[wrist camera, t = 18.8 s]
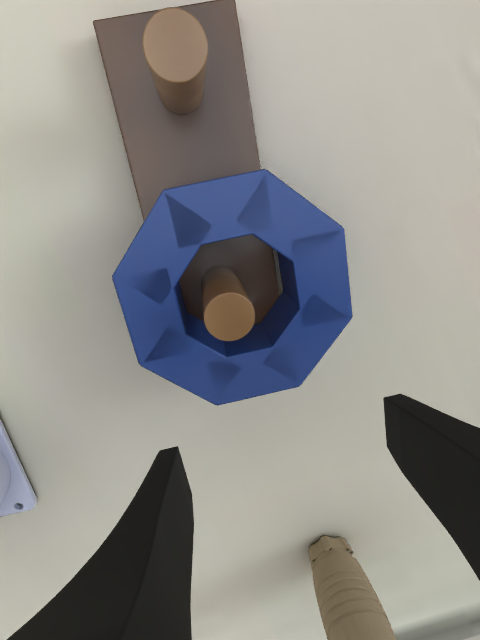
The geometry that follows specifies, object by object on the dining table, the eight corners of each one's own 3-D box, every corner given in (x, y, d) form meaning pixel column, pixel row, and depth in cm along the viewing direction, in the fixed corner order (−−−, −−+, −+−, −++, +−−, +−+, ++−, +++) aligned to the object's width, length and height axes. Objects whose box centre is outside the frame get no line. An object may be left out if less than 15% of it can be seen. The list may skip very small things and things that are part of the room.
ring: (161, 386, 21) (155, 420, 18) (106, 201, 18) (88, 204, 15) (334, 346, 22) (358, 373, 19) (312, 160, 19) (337, 154, 15)
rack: (177, 338, 22) (171, 400, 16) (100, 33, 17) (43, -62, 11) (278, 317, 23) (313, 369, 16) (231, 12, 18) (254, -95, 11)
